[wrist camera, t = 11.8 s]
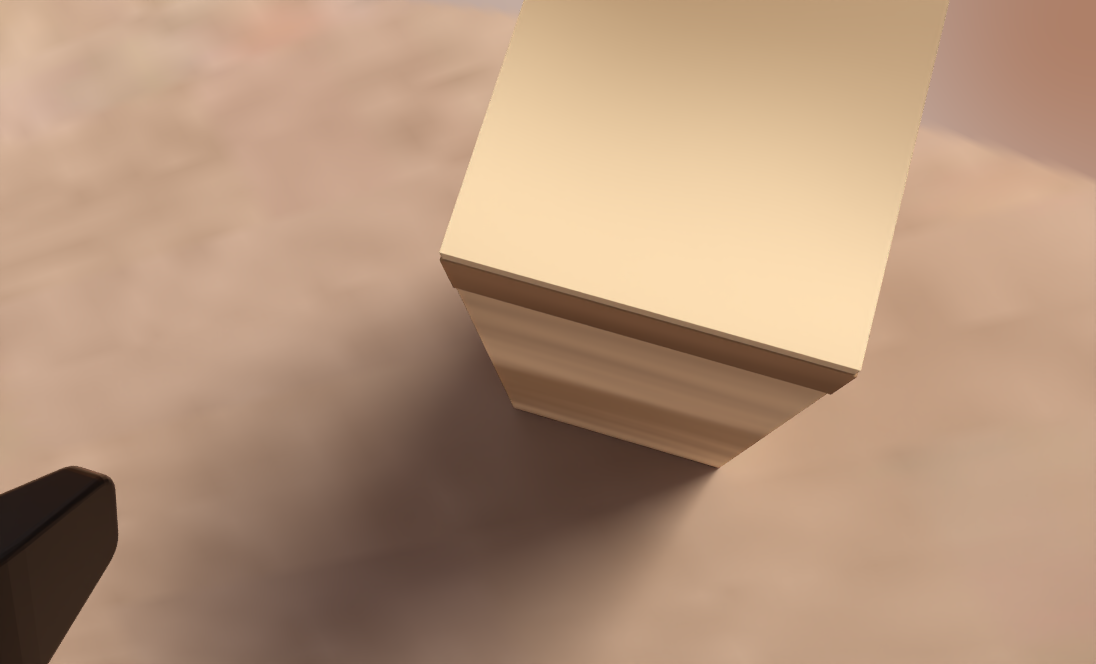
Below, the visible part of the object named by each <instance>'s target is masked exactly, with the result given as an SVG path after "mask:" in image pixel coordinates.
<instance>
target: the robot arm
mask: <svg viewBox="0 0 1096 664" xmlns="http://www.w3.org/2000/svg"><path fill="white" fill-rule="evenodd" d="M117 542H118V522H117V507H116V492H115V485H114V483H113V481H112V479H111V478H110V477H108V476H107V475H104V474H101V473H98V472H95V471H92V470H88V469H85V468H82V467H78V466H69V467H65V468H62V469H59V470H57V471H55V472H52V473H50V474H47V475H45V476H43V477H40V478H38V479H36V480H33V481H31V482H28V483H26V484H24V485H21V486H19V487H17V488H14V489H12V490H10V491H7V492H5V493H2V494H0V664H48V663H49V662H50V660H51V658H52V657H53V655H54V653H55V652H56V650H57V648H58V647H59V645H60V644H61V642H62V640H63V639H64V637H65V635H66V634H67V632H68V630H69V629H70V627H71V625H72V624H73V622H74V621H75V619H76V617H77V616H78V614H79V612H80V611H81V609H82V607H83V606H84V604H85V602H86V601H87V599H88V598H89V596H90V594H91V593H92V591H93V589H94V588H95V586H96V584H97V583H98V581H99V579H100V578H101V576H102V575H103V573H104V571H105V570H106V568H107V566H108V565H109V563H110V561H111V559H112V557H113V555H114V553H115V550H116V547H117Z"/></svg>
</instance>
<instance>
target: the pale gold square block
mask: <svg viewBox="0 0 1096 664" xmlns="http://www.w3.org/2000/svg"><path fill="white" fill-rule="evenodd" d="M948 4H949V0H524V2H523V5H522V8H521V11H520V14H519V17H518V20H517V22H516V25H515V28H514V31H513V34H512V37H511V40H510V43H509V46H508V49H507V52H506V55H505V58H504V61H503V64H502V67H501V70H500V73H499V76H498V79H497V82H496V85H495V88H494V91H493V94H492V97H491V100H490V103H489V106H488V109H487V112H486V115H485V118H484V121H483V124H482V127H481V130H480V133H479V136H478V139H477V142H476V145H475V148H474V151H473V154H472V157H471V160H470V163H469V166H468V169H467V172H466V175H465V178H464V181H463V184H462V186H461V189H460V192H459V195H458V198H457V201H456V204H455V207H454V210H453V213H452V216H451V219H450V222H449V225H448V228H447V231H446V234H445V237H444V240H443V243H442V246H441V249H440V252H439V253H440V255H441V258H440V262H441V264H442V266H443V268H444V270H445V272H446V274H447V276H448V278H449V280H450V282H451V284H452V286H453V287H454V288H457V290H458V292H459V294H460V296H461V299H462V301H463V303H464V305H465V307H466V309H467V311H468V313H469V315H470V317H471V319H472V321H473V324H474V326H475V328H476V330H477V332H478V334H479V336H480V338H481V340H482V342H483V344H484V346H485V349H486V351H487V353H488V355H489V357H490V359H491V361H492V363H493V365H494V367H495V369H496V371H497V374H498V376H499V378H500V380H501V382H502V384H503V386H504V388H505V390H506V392H507V394H508V396H509V399H510V401H511V403H512V405H513V407H514V408H516V409H520V410H523V411H527V412H530V413H533V414H537V415H540V416H544V417H547V418H550V419H554V420H557V421H561V422H564V423H567V424H571V425H574V426H578V427H581V428H584V429H588V430H591V431H595V432H598V433H601V434H605V435H608V436H612V437H615V438H618V439H622V440H625V441H629V442H632V443H635V444H639V445H642V446H646V447H649V448H652V449H656V450H659V451H663V452H666V453H669V454H673V455H676V456H680V457H683V458H686V459H690V460H693V461H697V462H700V463H703V464H707V465H710V466H714V467H717V468H720V467H721V466H723V465H724V464H726V463H727V462H729V461H730V460H731V459H733V458H734V457H736V456H737V455H739V454H740V453H742V452H743V451H745V450H746V449H747V448H749V447H750V446H752V445H753V444H755V443H756V442H758V441H759V440H761V439H762V438H763V437H765V436H766V435H768V434H769V433H771V432H772V431H774V430H775V429H777V428H778V427H779V426H781V425H782V424H784V423H785V422H787V421H788V420H790V419H791V418H793V417H794V416H795V415H797V414H798V413H800V412H801V411H803V410H804V409H806V408H807V407H809V406H810V405H811V404H813V403H814V402H816V401H817V400H819V399H820V398H822V397H823V396H825V395H826V394H827V393H828V394H832V393H834V392H835V391H837V390H838V389H840V388H841V387H843V386H844V385H846V384H847V383H849V382H850V381H852V380H853V379H855V378H856V377H857V374H858V372H859V371H861V367H862V363H863V359H864V355H865V351H866V346H867V342H868V338H869V334H870V330H871V326H872V321H873V317H874V313H875V309H876V305H877V300H878V296H879V292H880V288H881V284H882V280H883V275H884V271H885V267H886V263H887V259H888V255H889V250H890V246H891V242H892V238H893V234H894V230H895V225H896V221H897V217H898V213H899V209H900V205H901V200H902V196H903V192H904V188H905V184H906V179H907V175H908V171H909V167H910V163H911V159H912V154H913V150H914V146H915V142H916V138H917V134H918V129H919V125H920V121H921V117H922V113H923V108H924V104H925V100H926V96H927V92H928V88H929V83H930V79H931V75H932V71H933V67H934V62H935V58H936V54H937V50H938V46H939V42H940V37H941V33H942V29H943V25H944V21H945V17H946V12H947V8H948Z"/></svg>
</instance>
